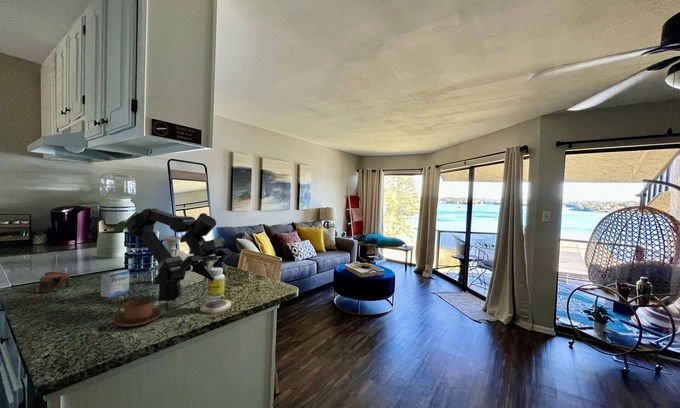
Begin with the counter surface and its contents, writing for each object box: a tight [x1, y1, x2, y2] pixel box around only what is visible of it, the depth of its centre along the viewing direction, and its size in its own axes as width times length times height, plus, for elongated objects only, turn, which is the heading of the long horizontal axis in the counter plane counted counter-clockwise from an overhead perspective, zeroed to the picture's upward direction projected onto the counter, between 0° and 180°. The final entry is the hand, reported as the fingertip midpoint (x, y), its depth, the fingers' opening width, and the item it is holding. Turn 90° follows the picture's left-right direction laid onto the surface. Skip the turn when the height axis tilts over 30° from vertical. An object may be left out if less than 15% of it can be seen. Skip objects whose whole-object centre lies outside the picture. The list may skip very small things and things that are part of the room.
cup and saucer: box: [113, 297, 162, 328], centre depth 86 cm, size 12×12×6 cm
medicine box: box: [100, 269, 130, 298], centre depth 108 cm, size 8×4×9 cm, turn 168°
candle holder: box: [162, 236, 182, 282], centre depth 126 cm, size 9×9×20 cm
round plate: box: [199, 298, 232, 314], centre depth 98 cm, size 10×10×1 cm
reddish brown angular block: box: [35, 271, 71, 294], centre depth 111 cm, size 12×10×8 cm
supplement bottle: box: [207, 267, 226, 299], centre depth 98 cm, size 5×5×10 cm
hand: (219, 277), depth 98 cm, fingers closed on supplement bottle, 5 cm apart
